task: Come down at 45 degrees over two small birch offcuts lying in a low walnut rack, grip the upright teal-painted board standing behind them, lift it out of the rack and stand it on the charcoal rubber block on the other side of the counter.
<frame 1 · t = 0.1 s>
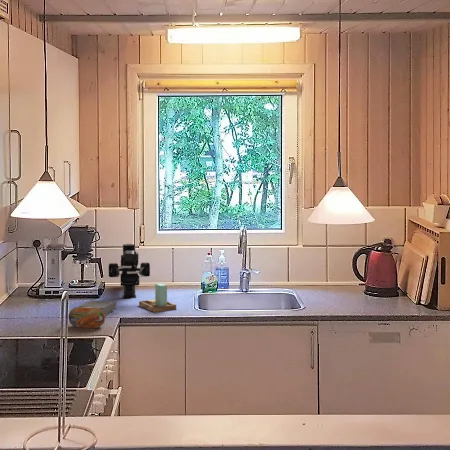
hand: (129, 273, 328), 17 cm above the worktop, tool horizontal, fingers open, 9 cm apart
rack: (157, 309, 330), on the worktop
offcut lower: (153, 305, 333), point 1 cm above the worktop, touching offcut upper, rack
tin: (87, 327, 299), on the worktop
plinth: (97, 312, 323), on the worktop
teal board: (161, 308, 327), point 1 cm above the worktop, touching rack
offcut upper: (153, 303, 333), point 2 cm above the worktop, touching offcut lower
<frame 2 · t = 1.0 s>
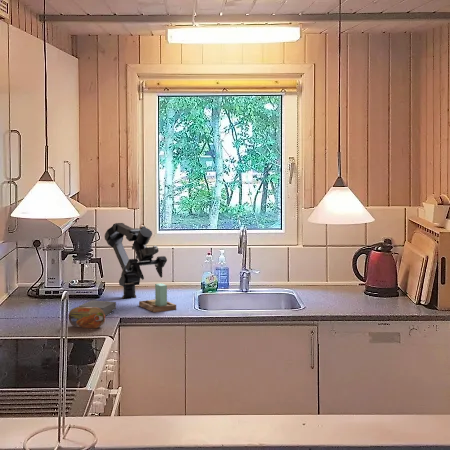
hand: (152, 278, 332), 14 cm above the worktop, tool tilted 45°, fingers open, 9 cm apart
nothing on the worktop moved.
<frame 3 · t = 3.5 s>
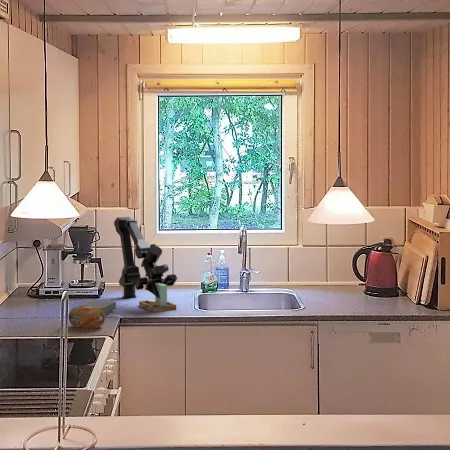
hand: (162, 297, 325), 7 cm above the worktop, tool tilted 45°, fingers closed on teal board, 3 cm apart
teal board: (161, 308, 327), point 1 cm above the worktop, touching gripper, rack
everything else where it was.
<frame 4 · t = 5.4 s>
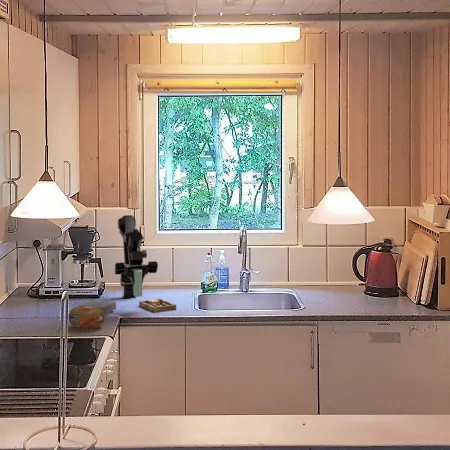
hand: (138, 283, 321), 13 cm above the worktop, tool tilted 45°, fingers closed on teal board, 3 cm apart
teal board: (137, 295, 323), point 8 cm above the worktop, touching gripper
everything else where it was.
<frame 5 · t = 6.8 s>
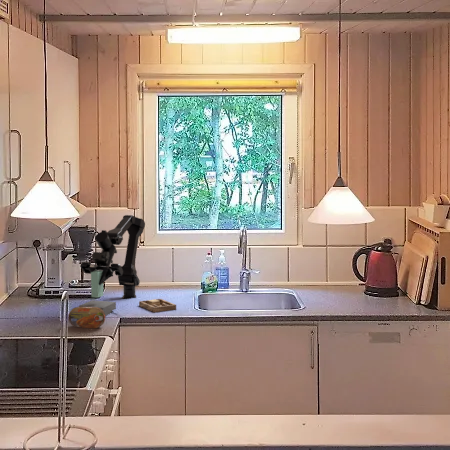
hand: (95, 284, 321), 13 cm above the worktop, tool tilted 45°, fingers closed on teal board, 3 cm apart
teal board: (97, 296, 322), point 7 cm above the worktop, touching gripper
everything else where it was.
when the fingers open (10 cm above the worktop, at t = 7.6 s): teal board stays where it is, resting on plinth.
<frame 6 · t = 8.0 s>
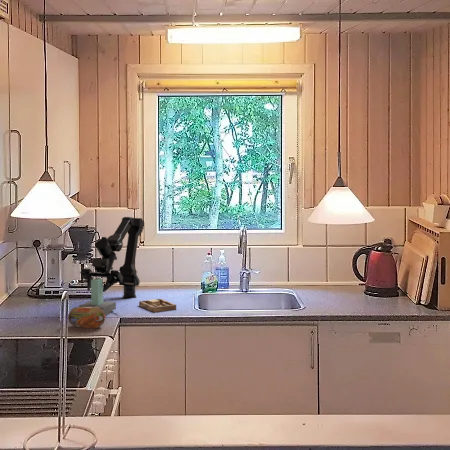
hand: (95, 291, 321), 10 cm above the worktop, tool tilted 45°, fingers open, 7 cm apart
teal board: (97, 304, 323), point 4 cm above the worktop, touching plinth
everything else where it was.
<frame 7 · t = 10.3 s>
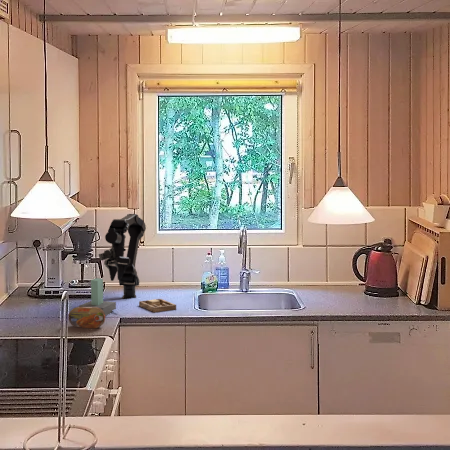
hand: (115, 280, 334), 12 cm above the worktop, tool tilted 15°, fingers open, 9 cm apart
nothing on the worktop moved.
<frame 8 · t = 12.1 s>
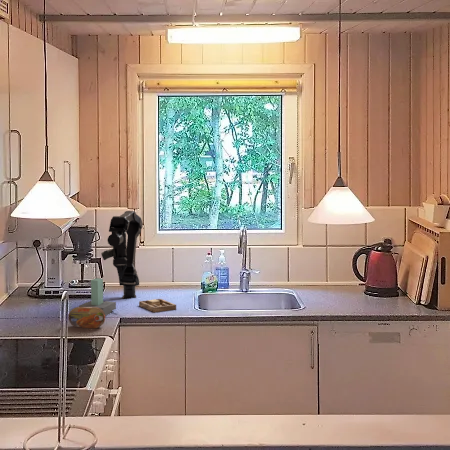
hand: (120, 277, 338), 13 cm above the worktop, tool pointing down, fingers open, 9 cm apart
nothing on the worktop moved.
at the end: teal board inside the target area on the plinth (0.0 cm from its centre), point 4.0 cm above the plinth's base; teal board tilted 0°; the gripper is holding nothing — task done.
